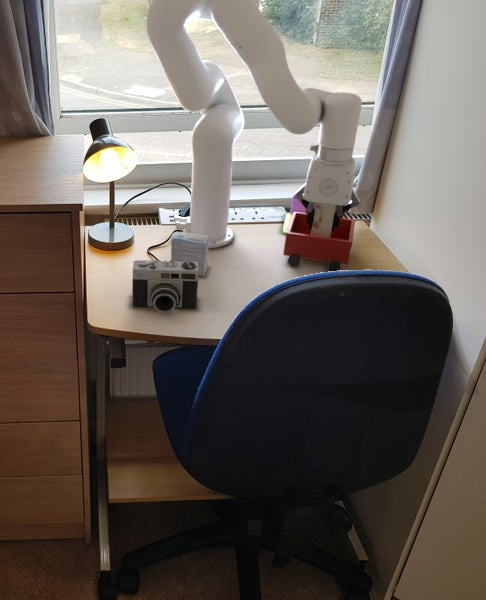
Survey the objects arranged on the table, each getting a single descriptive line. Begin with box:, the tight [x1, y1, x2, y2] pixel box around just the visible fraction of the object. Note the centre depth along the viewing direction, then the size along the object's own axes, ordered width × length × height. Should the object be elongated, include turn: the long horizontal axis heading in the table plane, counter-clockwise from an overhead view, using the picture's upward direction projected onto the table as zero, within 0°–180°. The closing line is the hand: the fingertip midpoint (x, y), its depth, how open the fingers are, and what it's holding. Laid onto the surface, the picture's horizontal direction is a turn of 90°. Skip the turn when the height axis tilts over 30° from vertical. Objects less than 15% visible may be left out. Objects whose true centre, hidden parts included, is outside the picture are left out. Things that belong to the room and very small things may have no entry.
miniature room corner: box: [282, 193, 316, 235], centre depth 163 cm, size 12×12×7 cm
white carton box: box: [311, 203, 336, 238], centre depth 146 cm, size 5×4×10 cm
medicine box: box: [170, 231, 210, 277], centre depth 145 cm, size 8×4×9 cm, turn 71°
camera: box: [131, 259, 199, 314], centre depth 132 cm, size 14×9×10 cm, turn 77°
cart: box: [282, 209, 356, 272], centre depth 149 cm, size 14×14×13 cm
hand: (321, 226), depth 148 cm, fingers closed on white carton box, 4 cm apart
